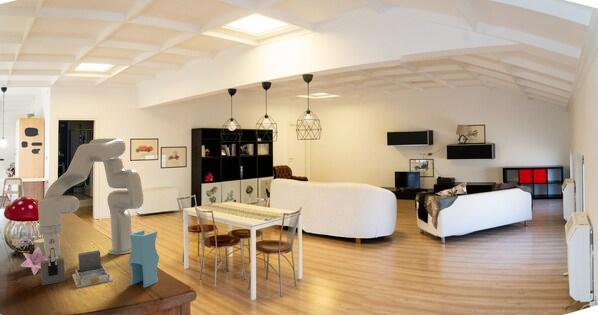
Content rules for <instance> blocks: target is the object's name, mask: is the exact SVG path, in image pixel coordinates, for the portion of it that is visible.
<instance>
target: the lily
mask: <svg viewBox="0 0 598 315" xmlns="http://www.w3.org/2000/svg"><path fill="white" fill-rule="evenodd" d="M22 254H23V255H24V257H25V258H26V259H25V261H23V262H22V263H21V264H20V267H23V268H30V269H29V271H32V274H33V276H34V275H36V274H37V272H39V269H40V270H41V264H40V261H45V260H48V259H47V258H46V256H42V252H41V250H40V248H39V247H37V248H36V250H35V249H34V251H33V253H28V252H23V253H22Z"/></svg>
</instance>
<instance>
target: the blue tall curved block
mask: <svg viewBox="0 0 598 315" xmlns="http://www.w3.org/2000/svg"><path fill="white" fill-rule="evenodd" d="M157 235H158V231H154V232H151V233H150V232H149V233H147V234H145V230H139V231H136V232H133V233H132V234H130V239H131V243H132V251H131V253H130V256H129V259H128V264H129V268H130V272H131V279H130V284H129V285H130V286H133V285H135V284H138V283H140V282H143V284H142V285H143V286H142V287H143V288H145V289H146V288H147V287H151V286H152V285H155V284H156V283H158V282H159V278H158V277H159V276H158V265H159V261H160V256H159V254H158V252H157V248H156V240H157Z"/></svg>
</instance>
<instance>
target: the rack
mask: <svg viewBox="0 0 598 315" xmlns="http://www.w3.org/2000/svg"><path fill="white" fill-rule="evenodd" d="M77 254H78V255H77V256H78V257H77V258H78V259H77V260H78V268H76V269H75V270H74V272H75V273H72V274H71V276H72V279H73V282H74V284H75V288H76V289H78V288H79V289H80V288H84V287H89V286H93V285H99V284H104V283H109V282H113V281H114V279H113V277H112V276H111V274H110V272H109V271H108V270H107V268H105V266H104V264H102V263H101V251H100V250H99V249H98V250H93V251H87V252H81V253H80V252H79V253H77Z"/></svg>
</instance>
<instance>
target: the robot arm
mask: <svg viewBox="0 0 598 315" xmlns="http://www.w3.org/2000/svg"><path fill="white" fill-rule="evenodd" d="M125 152H126V143H125V141H124V140H123V139H121V138H118V137H117V138H111V137H110V138H95V139H91V140H90V141H89V143H83V144H80V145H79V146H78V147H77V149H76V151H75V152H74V155H73V157H72V159H71V162H70V164H69V166H68V168H67V170H66V172H65V173H63V174H62V175H61V176H58V178H57V179H55V180H54V182H52V183H51V184H50V185H49V187H48V189H47V191H46V193H45V195H44V198H43V199H41V200H39V201H38V203H37V210H38V228H39V235H40V236H43V237H42V238H44V249H45V254H46V258H47V259H48V260H49V266H48V273H49V276H53V275H58V266H57V259H56V256H57V257H58V258H61V245H60V233H61V232H62V220H61V218H62V217H61V215H67V214H73V213H75V212H77V211H78V209H80V200H79V198H77V197H76V196H74V195H64V193H65V192H66V191H67V190H69V189H70V188H72V187H74V186H76V185H78V184H80V183H83V182H84V181H86V180H87V179H88V177H89V174H90V172H91V170H92V167H93V166H94V163H102V164H103V166H104V170H105V171H104V172H105V176H106V181H107V185H108V186H109V187H110V188H112V189H117V190H113V191H111V192H110V193H109V194H108V196H107V205H108V208H109V215H110V229H111V230H110V231H111V234H110V235H111V249H109V250H108V254H110V255H112V256H115V255H117V256H118V255H125V254H126V255H127V254H131V251H132V243H131V239H130V234H132V232H133V231H132V216H131V213H130V211H129V210H136V209H137V210H138V209H140V208H141V207H142V206H143V204H144V194H143V193H144V192H143V186H142V181H141V180H142V179H141V176H140V174H139V173H138V171H136V170H135V169H126V168H124V164H123V159H122V157H121V156H122V155H123V154H124V153H125Z"/></svg>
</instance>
